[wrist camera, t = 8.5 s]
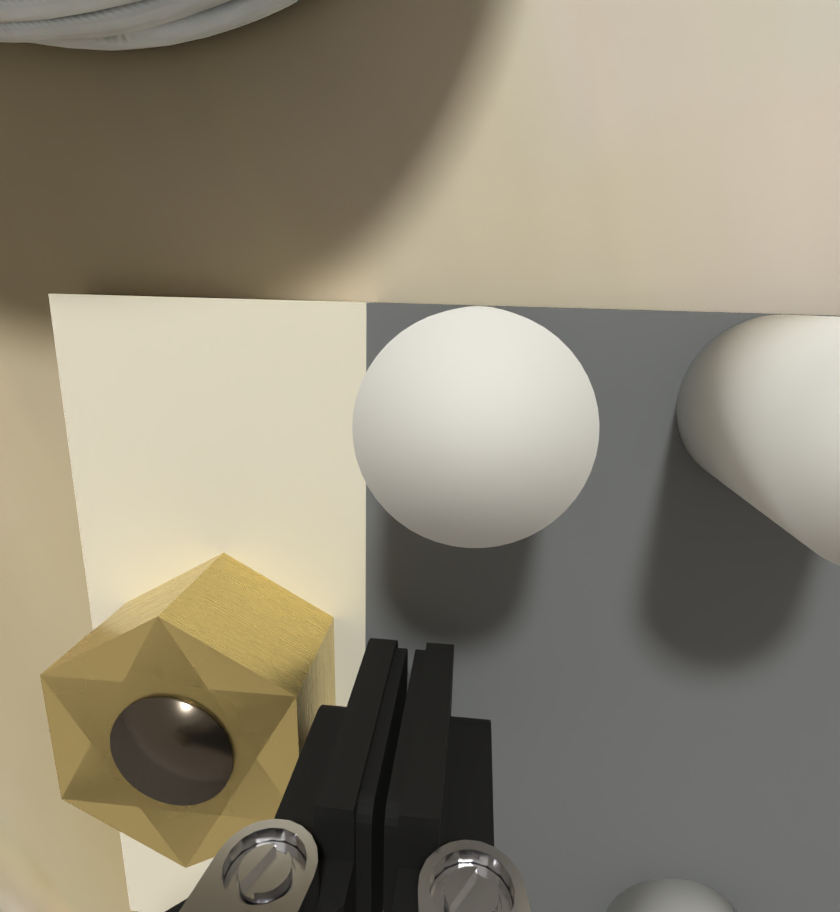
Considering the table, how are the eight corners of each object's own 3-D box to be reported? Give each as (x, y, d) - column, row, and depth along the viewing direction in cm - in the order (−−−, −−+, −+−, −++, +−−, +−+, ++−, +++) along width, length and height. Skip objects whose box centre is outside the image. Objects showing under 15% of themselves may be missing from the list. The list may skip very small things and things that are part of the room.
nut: (332, 558, 12) (291, 628, 9) (337, 773, 13) (303, 885, 10) (118, 545, 12) (25, 608, 10) (145, 755, 13) (68, 858, 11)
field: (1318, 329, 10) (1984, 349, 5) (1045, 983, 14) (1307, 1300, 9) (83, 294, 12) (-149, 289, 7) (151, 872, 16) (25, 1091, 11)
